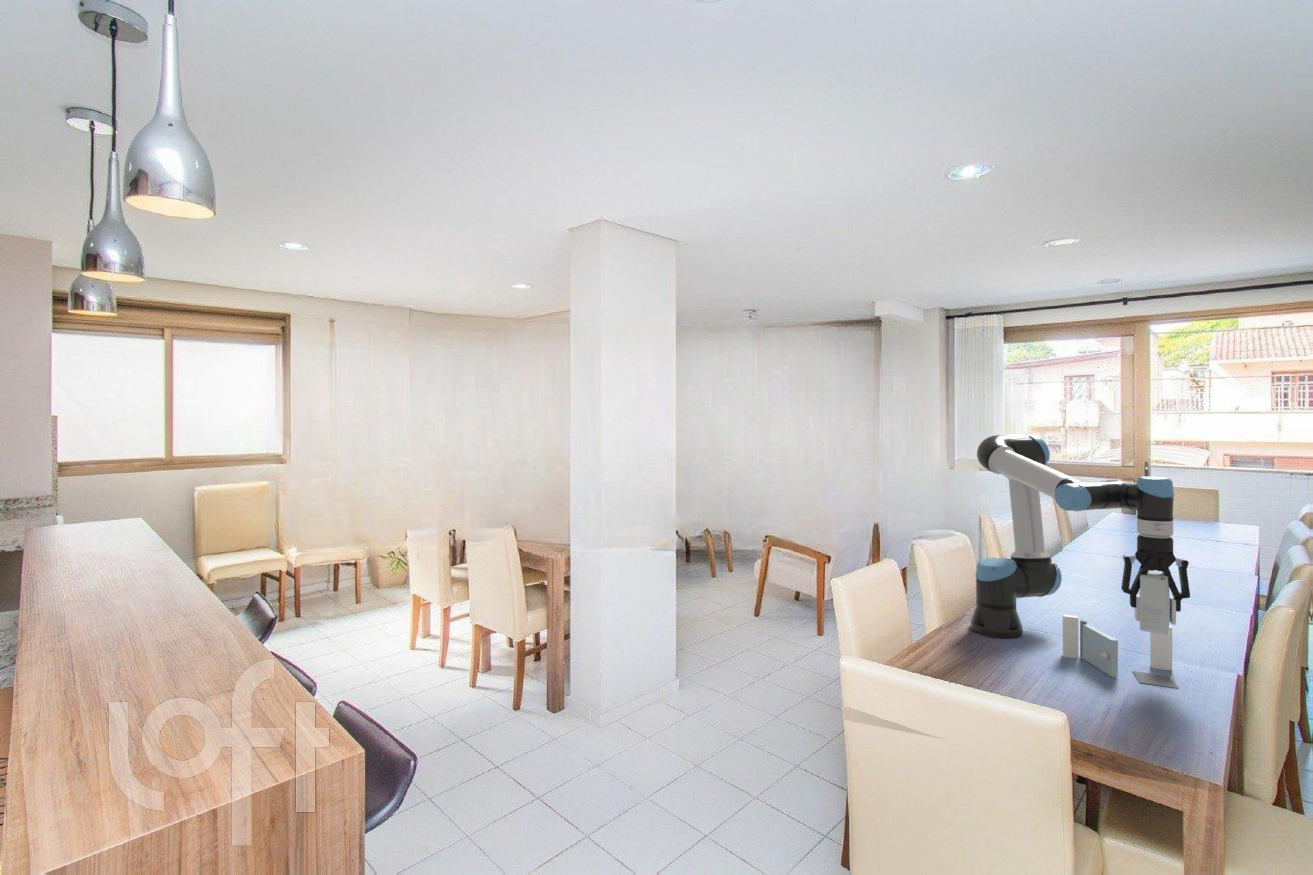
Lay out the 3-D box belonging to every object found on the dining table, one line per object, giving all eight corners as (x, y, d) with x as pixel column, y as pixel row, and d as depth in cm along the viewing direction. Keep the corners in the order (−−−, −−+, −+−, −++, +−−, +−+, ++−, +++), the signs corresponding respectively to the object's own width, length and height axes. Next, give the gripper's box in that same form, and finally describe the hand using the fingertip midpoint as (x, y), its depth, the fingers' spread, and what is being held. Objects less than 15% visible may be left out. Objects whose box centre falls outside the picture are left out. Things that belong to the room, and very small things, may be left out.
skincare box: (1142, 622, 171) (1141, 568, 171) (1171, 626, 167) (1169, 571, 167) (1139, 631, 165) (1138, 575, 165) (1169, 635, 161) (1167, 578, 161)
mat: (1139, 683, 165) (1139, 682, 165) (1132, 671, 172) (1132, 670, 172) (1177, 688, 161) (1177, 687, 161) (1169, 676, 168) (1169, 675, 168)
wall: (1063, 656, 184) (1063, 616, 183) (1062, 654, 185) (1062, 614, 185) (1172, 670, 172) (1172, 627, 172) (1170, 667, 174) (1170, 625, 173)
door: (1073, 655, 183) (1073, 620, 183) (1084, 655, 183) (1084, 620, 183) (1105, 676, 169) (1105, 637, 168) (1117, 676, 168) (1117, 637, 168)
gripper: (1112, 535, 167) (1112, 620, 167) (1207, 540, 158) (1207, 630, 158) (1106, 530, 173) (1107, 612, 174) (1198, 535, 164) (1197, 621, 165)
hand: (1154, 621), depth 166 cm, fingers closed on skincare box, 7 cm apart
